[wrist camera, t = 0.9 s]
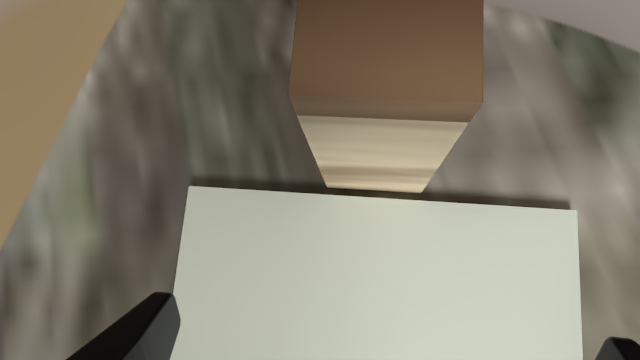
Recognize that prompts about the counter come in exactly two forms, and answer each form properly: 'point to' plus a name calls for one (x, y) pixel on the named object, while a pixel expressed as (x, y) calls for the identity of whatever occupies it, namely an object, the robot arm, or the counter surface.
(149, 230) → the counter surface
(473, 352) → the sage mat
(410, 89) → the birch block
